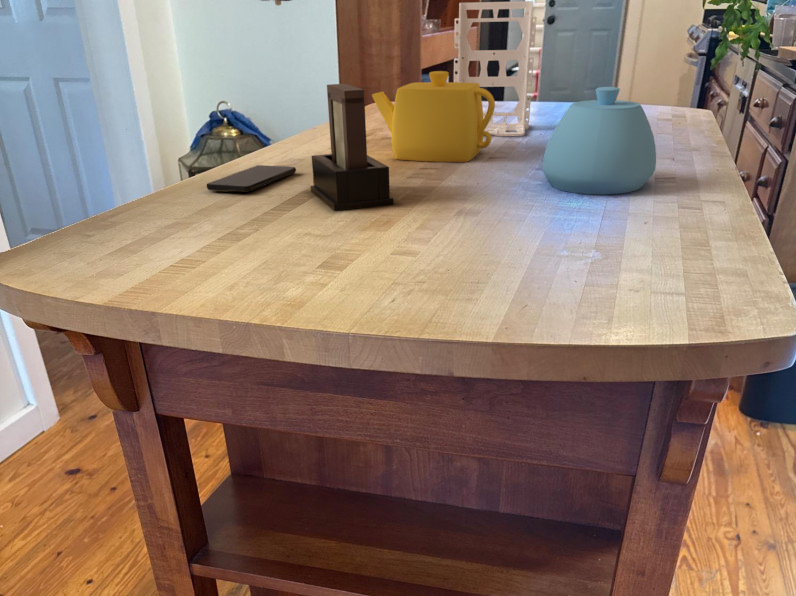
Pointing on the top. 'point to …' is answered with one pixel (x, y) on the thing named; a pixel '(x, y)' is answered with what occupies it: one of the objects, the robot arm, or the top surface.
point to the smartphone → (250, 178)
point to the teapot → (437, 119)
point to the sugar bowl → (601, 147)
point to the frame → (347, 126)
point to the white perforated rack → (502, 55)
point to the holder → (350, 184)
